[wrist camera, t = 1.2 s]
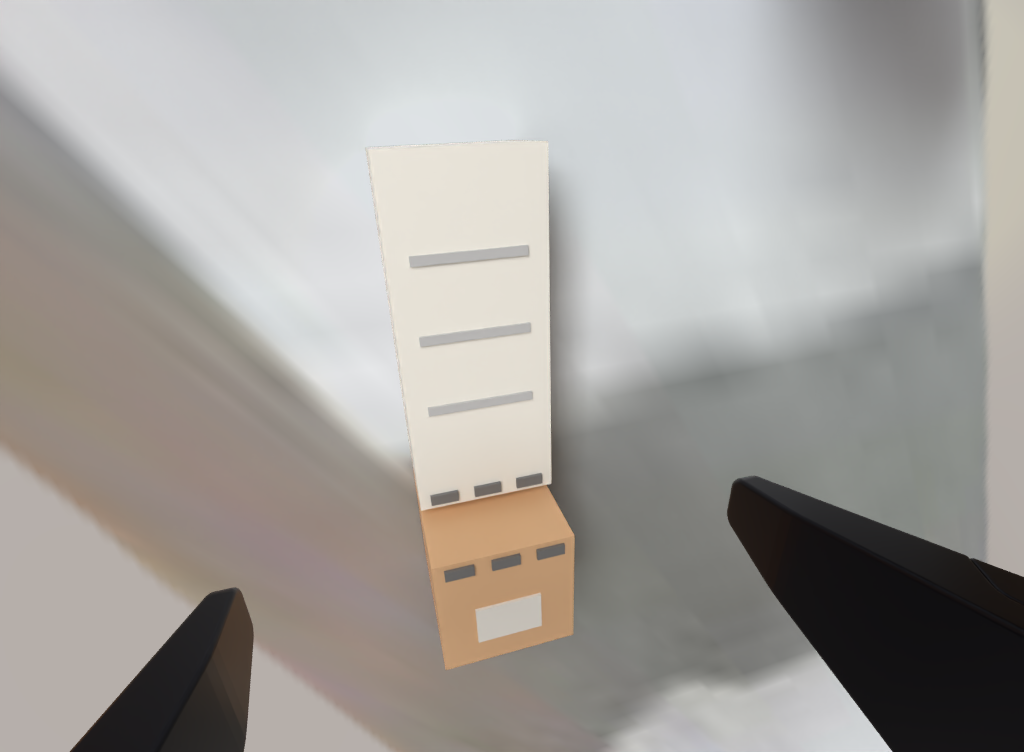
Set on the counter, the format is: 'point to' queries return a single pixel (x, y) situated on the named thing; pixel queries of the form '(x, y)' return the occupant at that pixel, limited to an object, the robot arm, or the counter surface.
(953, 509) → the counter surface
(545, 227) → the white slotted tower
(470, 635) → the light brown cardboard box
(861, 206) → the counter surface
